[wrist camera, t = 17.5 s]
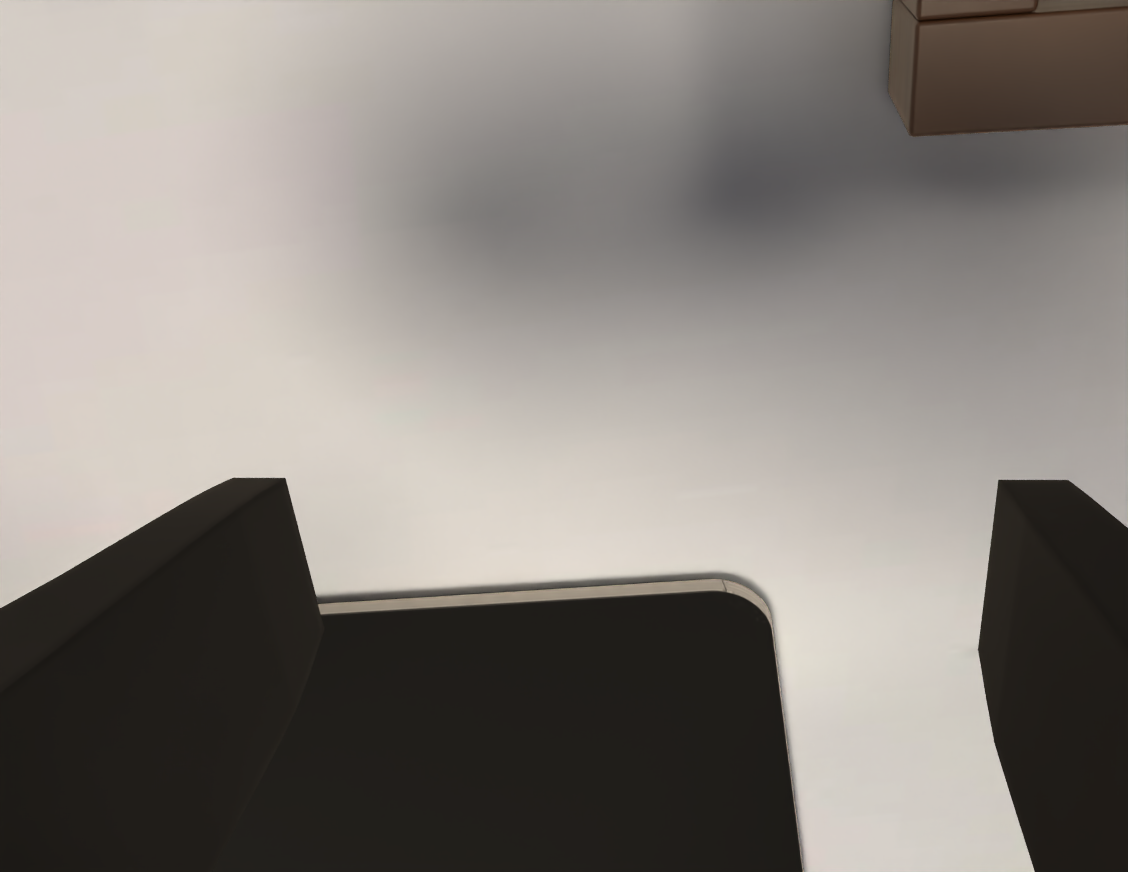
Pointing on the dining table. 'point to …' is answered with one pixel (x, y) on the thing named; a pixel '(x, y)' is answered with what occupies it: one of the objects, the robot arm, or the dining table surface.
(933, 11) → the stand
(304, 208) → the dining table surface
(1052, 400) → the dining table surface
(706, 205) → the dining table surface
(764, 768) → the tablet
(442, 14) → the dining table surface
